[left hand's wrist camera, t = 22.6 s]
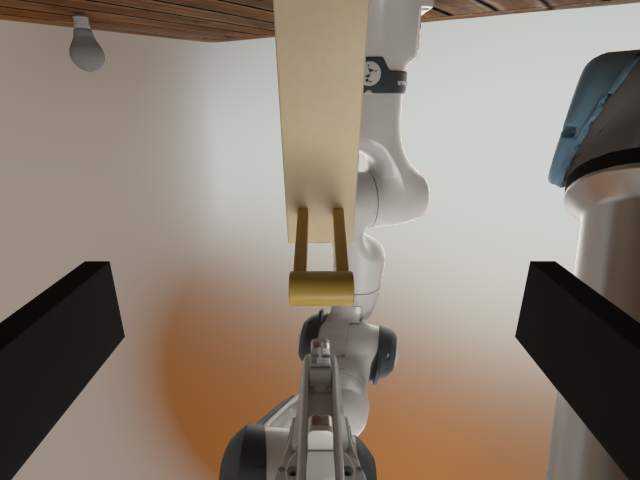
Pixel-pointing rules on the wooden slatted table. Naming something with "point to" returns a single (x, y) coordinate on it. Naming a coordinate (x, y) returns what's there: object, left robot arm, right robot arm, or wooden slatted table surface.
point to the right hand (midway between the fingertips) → (320, 377)
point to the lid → (321, 135)
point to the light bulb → (85, 46)
